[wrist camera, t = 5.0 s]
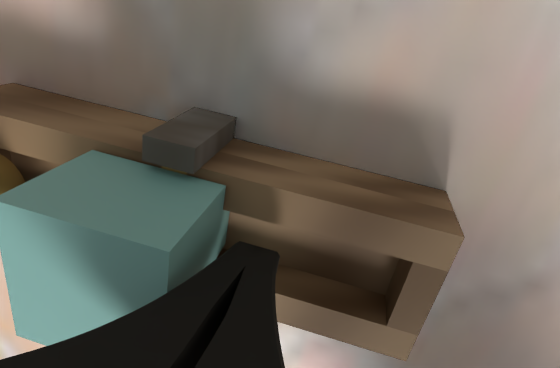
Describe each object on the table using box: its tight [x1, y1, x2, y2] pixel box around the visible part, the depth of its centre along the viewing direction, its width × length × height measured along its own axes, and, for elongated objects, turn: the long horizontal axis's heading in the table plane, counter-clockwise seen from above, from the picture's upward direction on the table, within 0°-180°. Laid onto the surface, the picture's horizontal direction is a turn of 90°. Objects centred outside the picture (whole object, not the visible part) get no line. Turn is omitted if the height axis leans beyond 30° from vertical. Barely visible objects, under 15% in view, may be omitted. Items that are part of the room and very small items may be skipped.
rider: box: [0, 150, 230, 346], centre depth 12 cm, size 4×4×5 cm
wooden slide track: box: [0, 83, 465, 361], centre depth 13 cm, size 17×7×5 cm, turn 81°
